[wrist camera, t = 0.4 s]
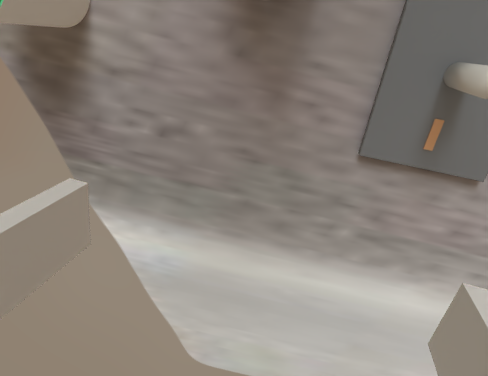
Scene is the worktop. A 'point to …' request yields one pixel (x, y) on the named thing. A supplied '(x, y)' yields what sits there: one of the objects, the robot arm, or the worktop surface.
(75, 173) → the worktop surface
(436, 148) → the panel
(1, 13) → the mug
